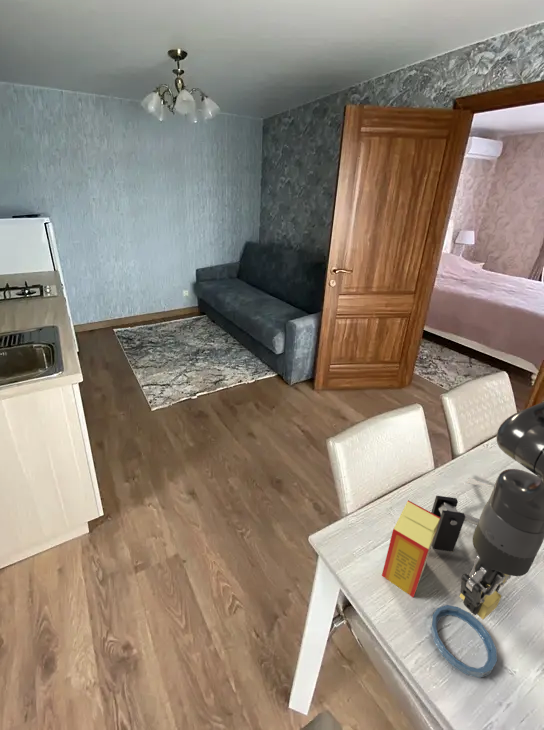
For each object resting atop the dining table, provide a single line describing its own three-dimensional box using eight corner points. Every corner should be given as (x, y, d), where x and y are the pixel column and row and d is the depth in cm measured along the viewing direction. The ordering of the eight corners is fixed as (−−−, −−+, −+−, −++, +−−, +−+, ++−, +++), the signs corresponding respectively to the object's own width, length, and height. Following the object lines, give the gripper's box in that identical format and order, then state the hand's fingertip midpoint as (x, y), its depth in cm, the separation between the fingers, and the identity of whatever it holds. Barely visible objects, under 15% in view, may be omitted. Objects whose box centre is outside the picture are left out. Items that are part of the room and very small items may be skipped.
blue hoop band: (476, 619, 69) (480, 610, 68) (503, 687, 59) (508, 678, 58) (422, 609, 70) (425, 600, 69) (440, 674, 61) (443, 665, 60)
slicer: (453, 532, 86) (466, 494, 81) (467, 564, 79) (482, 525, 74) (411, 525, 88) (421, 488, 83) (420, 556, 80) (432, 517, 75)
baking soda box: (412, 601, 72) (428, 549, 66) (380, 579, 76) (393, 528, 69) (425, 566, 78) (441, 516, 72) (395, 548, 82) (408, 498, 76)
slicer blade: (489, 522, 81) (495, 515, 80) (501, 544, 76) (508, 537, 75) (435, 502, 82) (441, 495, 81) (444, 523, 77) (450, 516, 76)
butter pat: (472, 585, 62) (477, 573, 61) (496, 607, 59) (501, 596, 58) (459, 596, 61) (463, 584, 60) (482, 620, 57) (488, 608, 56)
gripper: (509, 577, 47) (475, 648, 54) (559, 533, 53) (524, 602, 60) (456, 532, 53) (431, 601, 60) (506, 497, 60) (480, 563, 66)
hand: (478, 601), depth 60 cm, fingers closed on butter pat, 4 cm apart
